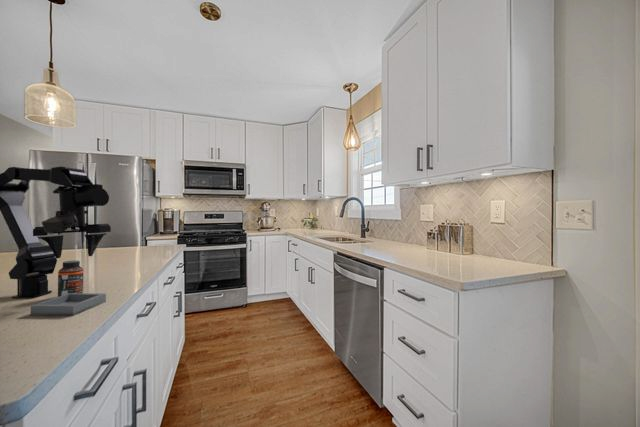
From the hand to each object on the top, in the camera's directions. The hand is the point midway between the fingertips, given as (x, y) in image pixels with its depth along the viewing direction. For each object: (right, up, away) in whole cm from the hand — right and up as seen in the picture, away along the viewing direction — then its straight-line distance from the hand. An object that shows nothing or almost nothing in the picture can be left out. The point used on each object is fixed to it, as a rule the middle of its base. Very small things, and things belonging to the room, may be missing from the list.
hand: (74, 257), depth 85 cm
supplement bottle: (-2, -13, +1) cm, 13 cm away
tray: (+7, -13, -9) cm, 17 cm away
